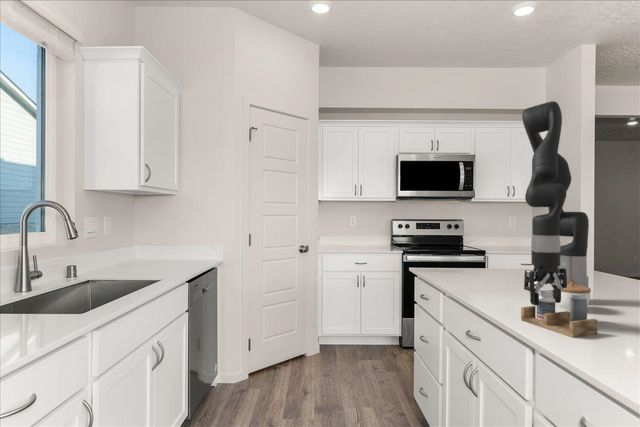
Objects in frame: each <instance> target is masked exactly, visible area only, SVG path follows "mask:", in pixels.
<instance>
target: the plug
mask: <svg viewBox="0 0 640 427" xmlns="http://www.w3.org/2000/svg"><path fill="white" fill-rule="evenodd" d="M569 312H570V321H578V320H586V319H588V305H587V299H586V296H585V295H581V294H571V297H570V311H569Z"/></svg>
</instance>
